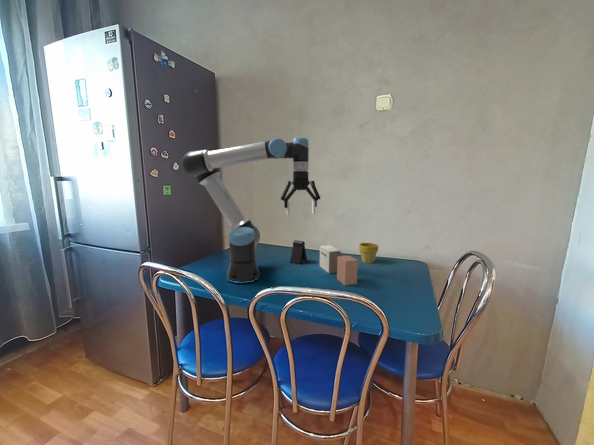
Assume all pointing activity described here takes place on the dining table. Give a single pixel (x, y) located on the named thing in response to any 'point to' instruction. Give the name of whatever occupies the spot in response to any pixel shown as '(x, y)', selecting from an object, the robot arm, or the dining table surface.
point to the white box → (329, 258)
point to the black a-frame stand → (298, 252)
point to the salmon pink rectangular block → (347, 270)
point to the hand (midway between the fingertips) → (300, 214)
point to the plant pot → (368, 252)
